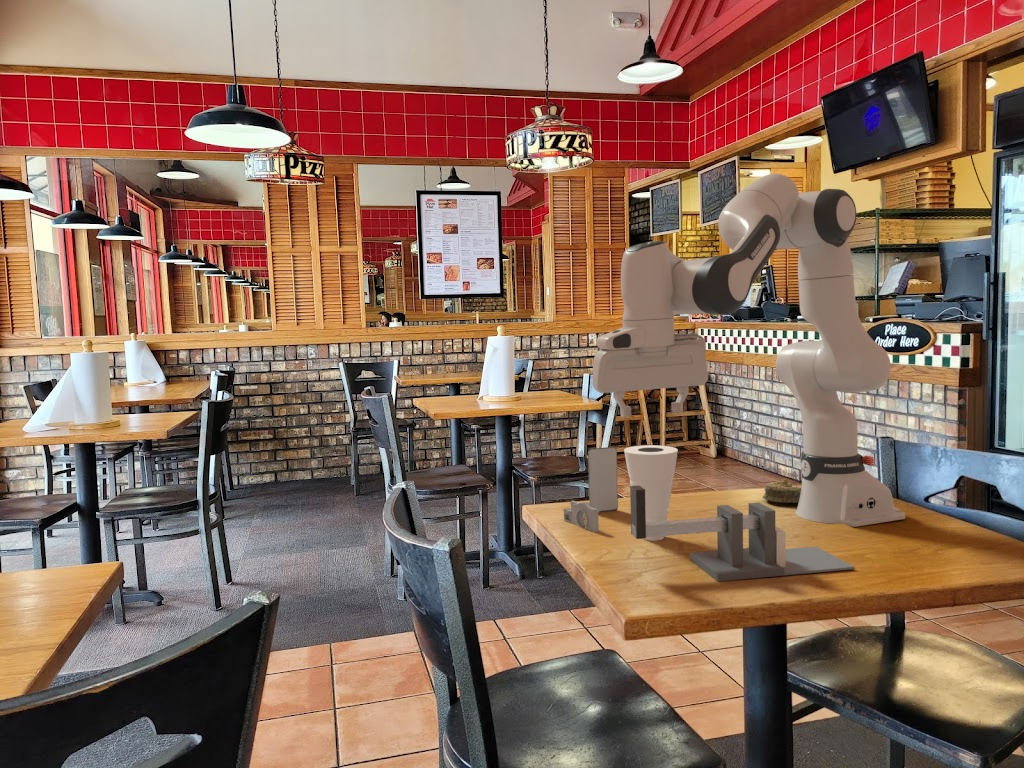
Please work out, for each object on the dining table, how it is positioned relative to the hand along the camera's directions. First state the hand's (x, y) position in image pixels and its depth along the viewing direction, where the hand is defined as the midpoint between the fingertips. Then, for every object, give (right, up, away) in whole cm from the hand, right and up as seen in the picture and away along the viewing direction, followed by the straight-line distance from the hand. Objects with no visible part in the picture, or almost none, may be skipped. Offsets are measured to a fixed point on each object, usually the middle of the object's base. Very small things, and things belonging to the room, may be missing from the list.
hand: (651, 414), depth 132 cm
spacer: (+22, -26, +2) cm, 34 cm away
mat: (+27, -27, +3) cm, 38 cm away
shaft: (+8, -20, -1) cm, 22 cm away
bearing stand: (+15, -27, +1) cm, 31 cm away
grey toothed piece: (-10, -26, +30) cm, 41 cm away
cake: (+41, -23, +47) cm, 66 cm away
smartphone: (-3, -24, +42) cm, 48 cm away
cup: (+4, -26, +21) cm, 33 cm away
